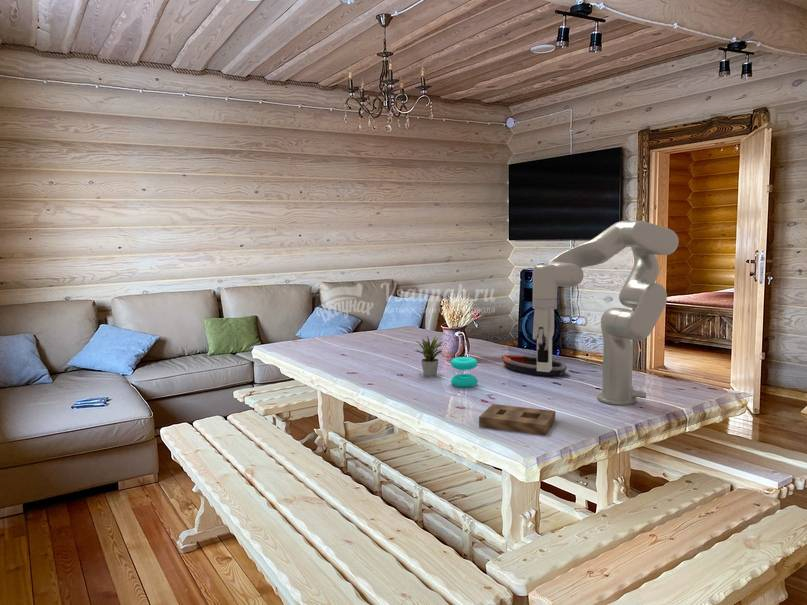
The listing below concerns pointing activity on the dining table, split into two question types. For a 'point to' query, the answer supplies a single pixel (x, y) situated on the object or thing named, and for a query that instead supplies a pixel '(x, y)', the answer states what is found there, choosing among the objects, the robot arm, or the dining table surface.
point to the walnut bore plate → (517, 419)
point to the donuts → (464, 379)
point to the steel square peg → (548, 366)
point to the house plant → (430, 357)
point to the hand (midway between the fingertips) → (544, 360)
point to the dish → (531, 365)
